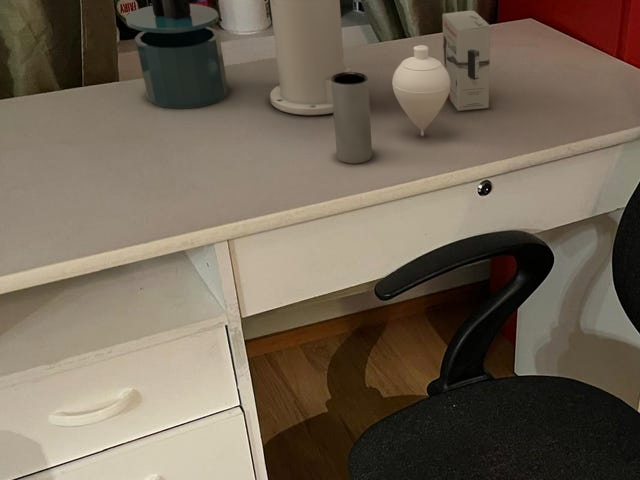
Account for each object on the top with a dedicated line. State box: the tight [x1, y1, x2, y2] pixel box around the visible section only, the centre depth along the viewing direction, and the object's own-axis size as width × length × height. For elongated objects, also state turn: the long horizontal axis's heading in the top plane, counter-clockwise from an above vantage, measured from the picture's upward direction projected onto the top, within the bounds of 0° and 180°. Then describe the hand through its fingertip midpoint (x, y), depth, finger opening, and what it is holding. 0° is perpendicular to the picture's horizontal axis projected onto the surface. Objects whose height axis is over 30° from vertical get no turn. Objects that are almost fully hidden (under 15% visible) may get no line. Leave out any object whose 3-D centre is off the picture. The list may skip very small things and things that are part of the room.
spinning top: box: [392, 44, 451, 137], centre depth 114 cm, size 8×8×12 cm
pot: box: [134, 26, 228, 110], centre depth 126 cm, size 11×11×8 cm
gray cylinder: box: [331, 71, 373, 165], centre depth 109 cm, size 4×4×10 cm
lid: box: [125, 0, 219, 34], centre depth 120 cm, size 12×12×5 cm
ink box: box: [442, 10, 491, 112], centre depth 126 cm, size 8×5×12 cm, turn 17°
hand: (172, 14), depth 121 cm, fingers closed on lid, 2 cm apart
